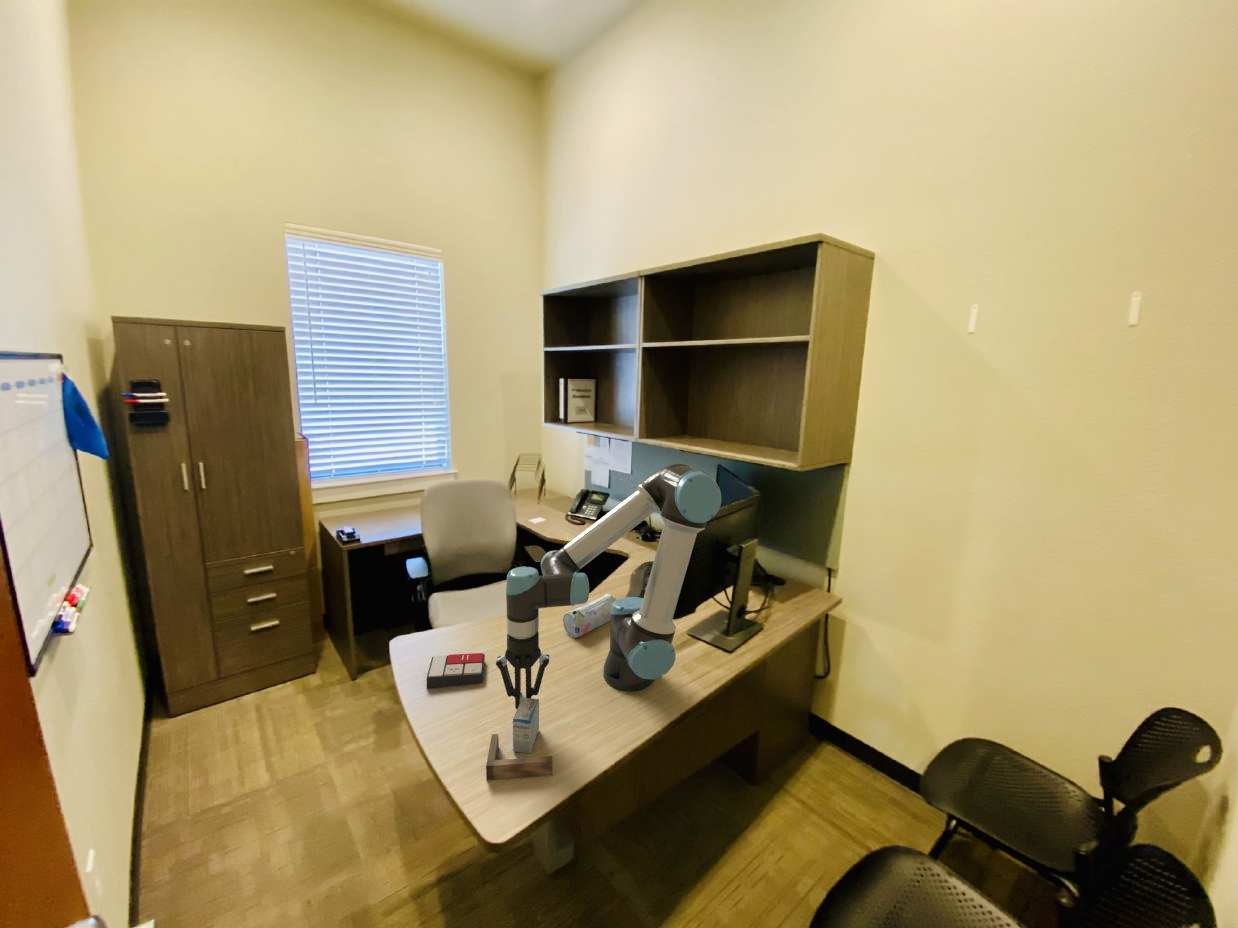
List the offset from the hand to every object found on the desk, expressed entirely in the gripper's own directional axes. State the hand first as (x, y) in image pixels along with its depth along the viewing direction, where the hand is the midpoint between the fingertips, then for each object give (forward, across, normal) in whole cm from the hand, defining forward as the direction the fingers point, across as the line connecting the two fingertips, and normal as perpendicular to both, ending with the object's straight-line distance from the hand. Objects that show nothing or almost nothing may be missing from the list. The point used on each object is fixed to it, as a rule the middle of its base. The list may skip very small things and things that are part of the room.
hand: (523, 718), depth 122 cm
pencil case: (+2, -20, -47) cm, 51 cm away
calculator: (+2, +21, -22) cm, 31 cm away
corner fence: (+2, 0, +12) cm, 12 cm away
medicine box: (+2, -1, +6) cm, 6 cm away
